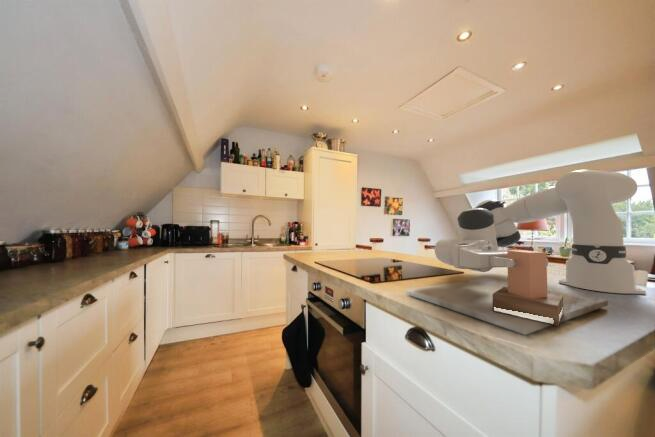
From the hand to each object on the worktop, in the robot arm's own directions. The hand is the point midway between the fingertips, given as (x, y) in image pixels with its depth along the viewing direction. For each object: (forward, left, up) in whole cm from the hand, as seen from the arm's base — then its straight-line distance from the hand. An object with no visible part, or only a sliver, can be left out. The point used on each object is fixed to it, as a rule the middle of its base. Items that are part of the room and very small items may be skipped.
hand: (530, 262), depth 55 cm
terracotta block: (0, -1, -7) cm, 8 cm away
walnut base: (0, -1, -11) cm, 12 cm away
